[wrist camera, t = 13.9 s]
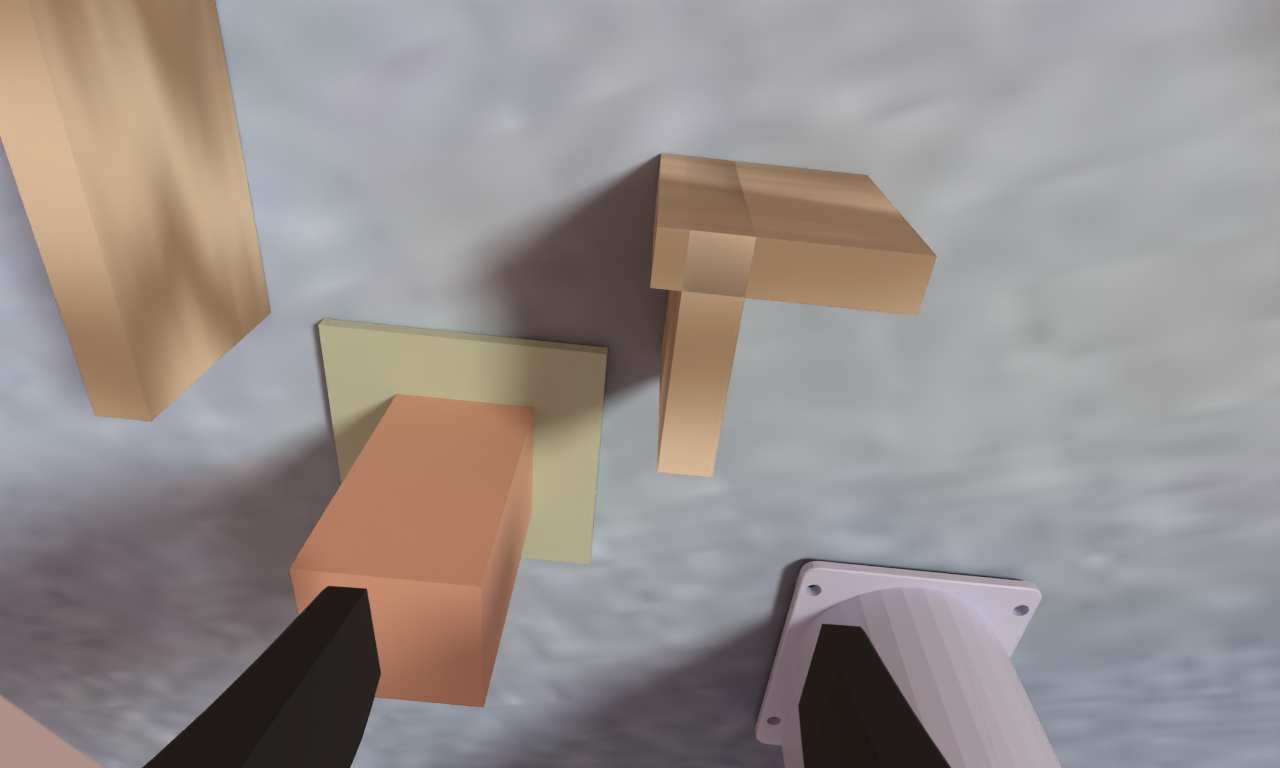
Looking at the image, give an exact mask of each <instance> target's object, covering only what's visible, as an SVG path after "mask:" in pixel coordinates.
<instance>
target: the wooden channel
mask: <svg viewBox="0 0 1280 768" xmlns="http://www.w3.org/2000/svg"><path fill="white" fill-rule="evenodd" d="M0 137H1V140H2V143H3V146H4V148H5V151H6V154H7V157H8V160H9V163H10V166H11V169H12V172H13V175H14V178H15V181H16V184H17V187H18V190H19V193H20V196H21V199H22V201H23V204H24V207H25V210H26V213H27V216H28V219H29V222H30V225H31V228H32V231H33V234H34V237H35V240H36V243H37V246H38V249H39V252H40V254H41V257H42V260H43V263H44V266H45V269H46V272H47V275H48V278H49V281H50V284H51V287H52V290H53V293H54V296H55V299H56V302H57V305H58V307H59V310H60V313H61V316H62V319H63V322H64V325H65V328H66V331H67V334H68V337H69V340H70V343H71V346H72V349H73V352H74V355H75V358H76V360H77V363H78V366H79V369H80V372H81V375H82V378H83V381H84V384H85V387H86V390H87V393H88V396H89V399H90V402H91V405H92V408H93V411H94V413H95V416H102V417H112V418H122V419H132V420H142V421H152V420H153V419H154V418H156V417H157V416H158V415H159V414H160V413H161V412H162V411H163V410H164V409H165V408H167V407H168V406H169V405H170V404H171V403H172V402H173V401H174V400H175V399H176V398H178V397H179V396H180V395H181V394H182V393H183V392H184V391H185V390H186V389H187V388H189V387H190V386H191V385H192V384H193V383H194V382H195V381H196V380H197V379H198V378H200V377H201V376H202V375H203V374H204V373H205V372H206V371H207V370H208V369H209V368H211V367H212V366H213V365H214V364H215V363H216V362H217V361H218V360H219V359H220V358H222V357H223V356H224V355H225V354H226V353H227V352H228V351H229V350H230V349H231V348H233V347H234V346H235V345H236V344H237V343H238V342H239V341H240V340H241V339H242V338H244V337H245V336H246V335H247V334H248V333H249V332H250V331H251V330H252V329H254V328H255V327H256V326H257V325H258V324H259V323H260V322H261V321H262V320H263V319H265V318H266V317H267V316H268V315H269V314H270V313H271V312H270V306H269V301H268V295H267V289H266V284H265V278H264V273H263V267H262V261H261V256H260V250H259V245H258V239H257V233H256V228H255V222H254V217H253V211H252V205H251V200H250V194H249V188H248V183H247V177H246V172H245V166H244V160H243V155H242V149H241V144H240V138H239V132H238V127H237V121H236V115H235V110H234V104H233V99H232V93H231V87H230V82H229V76H228V71H227V65H226V59H225V54H224V48H223V42H222V37H221V31H220V26H219V20H218V14H217V9H216V3H215V0H0ZM936 257H937V256H936V255H935V253H934V252H933V251H932V250H931V249H930V248H929V246H928V245H927V244H926V243H925V242H924V241H923V239H922V238H921V237H920V236H919V235H918V234H917V233H916V231H915V230H914V229H913V228H912V227H911V226H910V224H909V223H908V222H907V221H906V220H905V219H904V217H903V216H902V215H901V214H900V213H899V212H898V210H897V209H896V208H895V207H894V206H893V205H892V203H891V202H890V201H889V200H888V199H887V198H886V196H885V195H884V194H883V193H882V192H881V191H880V189H879V188H878V187H877V186H876V185H875V184H874V182H873V181H872V180H871V179H870V178H869V177H868V175H859V174H850V173H840V172H831V171H822V170H812V169H803V168H794V167H784V166H775V165H766V164H756V163H747V162H737V161H728V160H719V159H709V158H700V157H691V156H681V155H672V154H663V153H661V159H660V168H659V177H658V186H657V196H656V207H655V222H654V238H653V253H652V269H651V284H650V288H656V289H666V290H669V291H668V299H667V307H666V315H665V323H664V331H663V339H662V347H661V363H660V398H659V433H658V468H657V472H662V473H672V474H682V475H692V476H702V477H712V474H713V469H714V463H715V458H716V453H717V447H718V442H719V436H720V431H721V425H722V420H723V415H724V409H725V404H726V398H727V393H728V387H729V382H730V376H731V371H732V366H733V360H734V355H735V349H736V344H737V338H738V333H739V328H740V322H741V317H742V311H743V306H744V300H745V298H752V299H762V300H771V301H781V302H791V303H800V304H810V305H819V306H829V307H839V308H848V309H858V310H868V311H877V312H887V313H896V314H906V315H916V316H918V313H919V310H920V307H921V304H922V300H923V297H924V294H925V291H926V288H927V285H928V282H929V279H930V275H931V272H932V269H933V266H934V263H935V260H936Z"/></svg>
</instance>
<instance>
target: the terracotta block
mask: <svg viewBox="0 0 1280 768" xmlns="http://www.w3.org/2000/svg"><path fill="white" fill-rule="evenodd" d="M533 446H534V407H526V406H515V405H505V404H495V403H485V402H475V401H465V400H455V399H445V398H435V397H425V396H415V395H404V394H397V395H396V396H395V398H394V399H393V401H392V403H391V404H390V406H389V408H388V409H387V411H386V412H385V414H384V416H383V417H382V419H381V421H380V422H379V424H378V425H377V427H376V429H375V430H374V432H373V434H372V435H371V437H370V438H369V440H368V442H367V443H366V445H365V447H364V448H363V450H362V451H361V453H360V455H359V456H358V458H357V460H356V461H355V463H354V464H353V466H352V468H351V469H350V471H349V473H348V474H347V476H346V477H345V479H344V481H343V482H342V484H341V485H340V487H339V489H338V490H337V492H336V494H335V495H334V497H333V498H332V500H331V502H330V503H329V505H328V507H327V508H326V510H325V511H324V513H323V515H322V516H321V518H320V520H319V521H318V523H317V524H316V526H315V528H314V529H313V531H312V533H311V534H310V536H309V537H308V539H307V541H306V542H305V544H304V546H303V547H302V549H301V550H300V552H299V554H298V555H297V557H296V559H295V560H294V562H293V563H292V565H291V567H290V568H289V570H290V575H291V580H292V584H293V589H294V594H295V599H296V604H297V609H298V613H299V615H300V614H301V613H302V611H303V610H304V609H305V608H306V607H307V606H308V605H309V604H310V603H311V602H312V601H313V600H314V599H315V598H316V597H317V595H318V594H319V593H320V592H321V591H322V590H323V589H325V588H326V587H327V586H339V587H352V588H365V589H367V591H368V597H369V603H370V609H371V615H372V622H373V628H374V634H375V640H376V646H377V652H378V658H379V664H380V670H381V676H380V680H379V683H378V687H377V690H376V694H375V697H378V698H388V699H399V700H410V701H421V702H432V703H443V704H453V705H464V706H475V707H484V704H485V700H486V696H487V692H488V688H489V684H490V680H491V676H492V672H493V668H494V664H495V659H496V655H497V651H498V647H499V643H500V639H501V635H502V631H503V627H504V623H505V619H506V615H507V611H508V607H509V603H510V599H511V595H512V591H513V587H514V583H515V579H516V575H517V571H518V567H519V563H520V559H521V555H522V550H523V546H524V542H525V538H526V534H527V530H528V526H529V522H530V518H531V514H532V488H533Z"/></svg>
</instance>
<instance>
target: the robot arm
mask: <svg viewBox="0 0 1280 768" xmlns="http://www.w3.org/2000/svg"><path fill="white" fill-rule="evenodd" d="M810 585H817V586H815V587H808V586H810ZM1041 597H1042V596H1041V593H1040V591H1039V589H1038V588H1037V586H1036V585H1035V584H1034V583H1032V582H1028V581H1018V580H1008V579H997V578H987V577H977V576H967V575H957V574H946V573H936V572H926V571H916V570H905V569H895V568H885V567H875V566H865V565H854V564H844V563H834V562H824V561H812V562H809V563H806V564H805V565H804V566H802V568H801V570H800V573H799V576H798V580H797V583H796V587H795V590H794V594H793V597H792V601H791V604H790V608H789V611H788V615H787V618H786V622H785V625H784V629H783V632H782V636H781V639H780V643H779V646H778V650H777V653H776V657H775V660H774V664H773V667H772V671H771V674H770V678H769V681H768V685H767V688H766V692H765V695H764V699H763V703H762V706H761V710H760V713H759V717H758V720H757V724H756V727H755V731H756V738H757V740H758V741H760V742H762V743H764V744H772V745H782V753H783V760H784V767H785V768H1061V766H1060V764H1059V762H1058V760H1057V757H1056V755H1055V753H1054V751H1053V749H1052V747H1051V745H1050V743H1049V741H1048V738H1047V736H1046V734H1045V732H1044V730H1043V728H1042V726H1041V724H1040V722H1039V720H1038V717H1037V715H1036V713H1035V711H1034V709H1033V707H1032V705H1031V703H1030V701H1029V698H1028V696H1027V694H1026V692H1025V690H1024V688H1023V686H1022V684H1021V682H1020V680H1019V677H1018V675H1017V673H1016V671H1015V669H1014V667H1013V665H1012V663H1011V661H1010V657H1011V655H1012V653H1013V652H1014V650H1015V648H1016V646H1017V644H1018V642H1019V640H1020V638H1021V636H1022V635H1023V633H1024V631H1025V629H1026V627H1027V625H1028V623H1029V621H1030V620H1031V618H1032V616H1033V614H1034V612H1035V610H1036V608H1037V606H1038V604H1039V603H1040V601H1041ZM1019 605H1020V606H1019ZM1017 606H1018V607H1017ZM380 676H381V670H380V664H379V658H378V652H377V646H376V640H375V634H374V628H373V622H372V615H371V609H370V603H369V597H368V591H367V589H365V588H352V587H339V586H327V587H326V588H325V589H323V590H322V591H321V592H320V593H319V594H318V595H317V597H316V598H315V599H314V600H313V601H312V602H311V603H310V604H309V605H308V606H307V607H306V608H305V609H304V610H303V611H302V613H301V614H300V615H299V616H298V617H297V618H296V619H295V620H294V621H293V622H292V623H291V624H290V625H289V626H288V627H287V629H286V630H285V631H284V632H283V633H282V634H281V635H280V636H279V637H278V638H277V639H276V640H275V641H274V642H273V643H272V644H271V645H270V646H269V647H268V648H267V649H266V650H265V651H264V652H263V654H262V655H261V656H260V657H259V658H258V659H257V660H256V661H255V662H254V663H253V664H252V665H251V666H250V667H249V668H248V669H247V670H246V671H245V672H244V673H243V674H242V675H241V676H240V677H239V678H238V679H237V680H236V681H235V682H234V683H233V684H232V685H231V686H230V687H229V688H228V689H227V690H226V691H225V692H224V693H223V694H221V695H220V696H219V697H218V698H217V699H216V700H215V701H214V702H213V703H212V704H211V705H210V706H209V707H208V708H207V709H206V710H205V711H204V712H203V713H202V714H201V715H200V716H199V717H197V718H196V719H195V720H194V721H193V722H192V723H191V724H190V725H189V726H188V727H187V728H185V729H184V730H183V731H182V732H181V733H180V734H179V735H178V736H177V737H176V738H175V739H173V740H172V741H171V742H170V743H169V744H168V745H167V746H166V747H165V748H164V749H163V750H162V751H160V752H159V753H158V754H157V755H156V756H155V757H154V758H153V759H152V760H150V761H149V762H148V763H147V764H146V765H145V766H144V767H142V768H350V767H351V764H352V762H353V759H354V757H355V755H356V752H357V750H358V747H359V745H360V742H361V740H362V737H363V734H364V730H365V727H366V724H367V721H368V717H369V714H370V711H371V708H372V704H373V701H374V697H375V694H376V690H377V687H378V683H379V680H380Z"/></svg>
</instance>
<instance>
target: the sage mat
mask: <svg viewBox="0 0 1280 768" xmlns="http://www.w3.org/2000/svg"><path fill="white" fill-rule="evenodd" d="M318 327H319V334H320V341H321V348H322V355H323V362H324V369H325V376H326V383H327V390H328V397H329V404H330V411H331V418H332V425H333V432H334V439H335V446H336V453H337V460H338V467H339V474H340V481H341V484H342V482H343V481H344V479H345V477H346V476H347V474H348V473H349V471H350V469H351V468H352V466H353V464H354V463H355V461H356V460H357V458H358V456H359V455H360V453H361V451H362V450H363V448H364V447H365V445H366V443H367V442H368V440H369V438H370V437H371V435H372V434H373V432H374V430H375V429H376V427H377V425H378V424H379V422H380V421H381V419H382V417H383V416H384V414H385V412H386V411H387V409H388V408H389V406H390V404H391V403H392V401H393V399H394V398H395V396H396V395H397V394H404V395H415V396H425V397H435V398H445V399H455V400H465V401H475V402H485V403H495V404H505V405H515V406H526V407H534V446H533V488H532V514H531V518H530V522H529V526H528V530H527V534H526V538H525V542H524V546H523V550H522V555H521V558H529V559H540V560H550V561H560V562H571V563H581V564H590V557H591V546H592V534H593V522H594V510H595V498H596V486H597V473H598V461H599V449H600V437H601V425H602V413H603V401H604V389H605V377H606V365H607V353H608V348H607V347H598V346H588V345H578V344H568V343H558V342H549V341H539V340H529V339H519V338H510V337H500V336H490V335H480V334H470V333H461V332H451V331H441V330H431V329H422V328H412V327H402V326H392V325H382V324H373V323H363V322H353V321H343V320H334V319H323V320H322V321H321V322H320V323H319V325H318Z"/></svg>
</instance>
